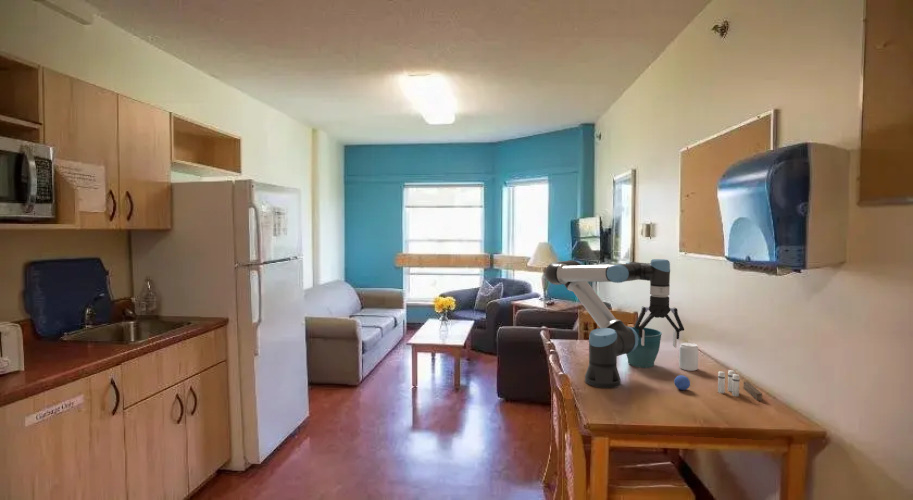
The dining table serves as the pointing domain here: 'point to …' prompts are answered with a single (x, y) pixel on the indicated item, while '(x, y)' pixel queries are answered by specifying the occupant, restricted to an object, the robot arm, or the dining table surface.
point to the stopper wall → (752, 391)
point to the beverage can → (688, 356)
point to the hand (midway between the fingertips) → (658, 345)
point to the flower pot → (645, 349)
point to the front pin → (721, 382)
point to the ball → (682, 382)
